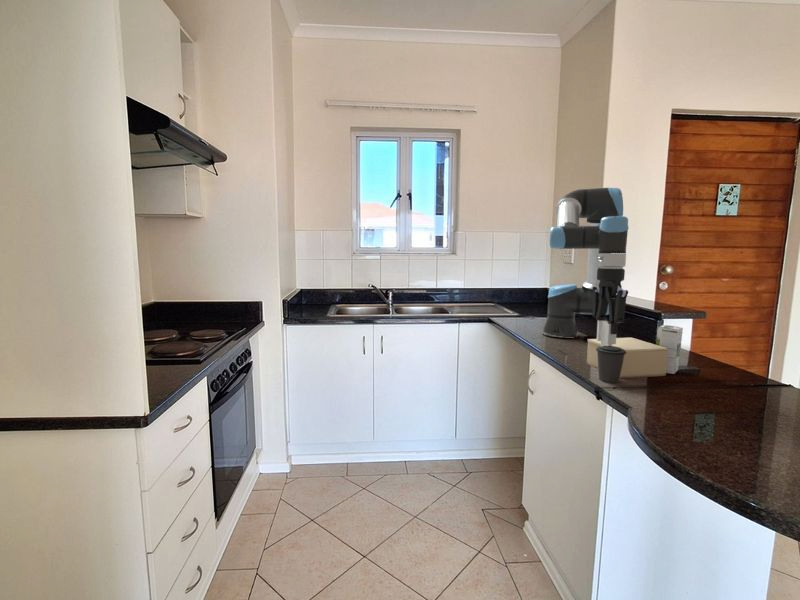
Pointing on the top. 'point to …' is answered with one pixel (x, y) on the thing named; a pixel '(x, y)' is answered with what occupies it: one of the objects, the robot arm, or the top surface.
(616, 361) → the coffee cup
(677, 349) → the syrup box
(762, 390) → the top surface
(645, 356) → the carton
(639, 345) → the lid flap
